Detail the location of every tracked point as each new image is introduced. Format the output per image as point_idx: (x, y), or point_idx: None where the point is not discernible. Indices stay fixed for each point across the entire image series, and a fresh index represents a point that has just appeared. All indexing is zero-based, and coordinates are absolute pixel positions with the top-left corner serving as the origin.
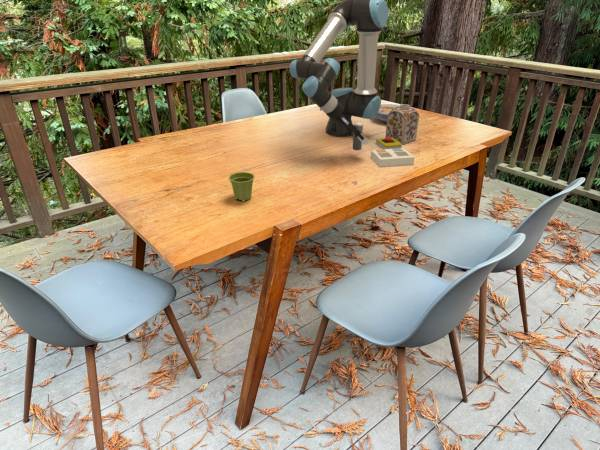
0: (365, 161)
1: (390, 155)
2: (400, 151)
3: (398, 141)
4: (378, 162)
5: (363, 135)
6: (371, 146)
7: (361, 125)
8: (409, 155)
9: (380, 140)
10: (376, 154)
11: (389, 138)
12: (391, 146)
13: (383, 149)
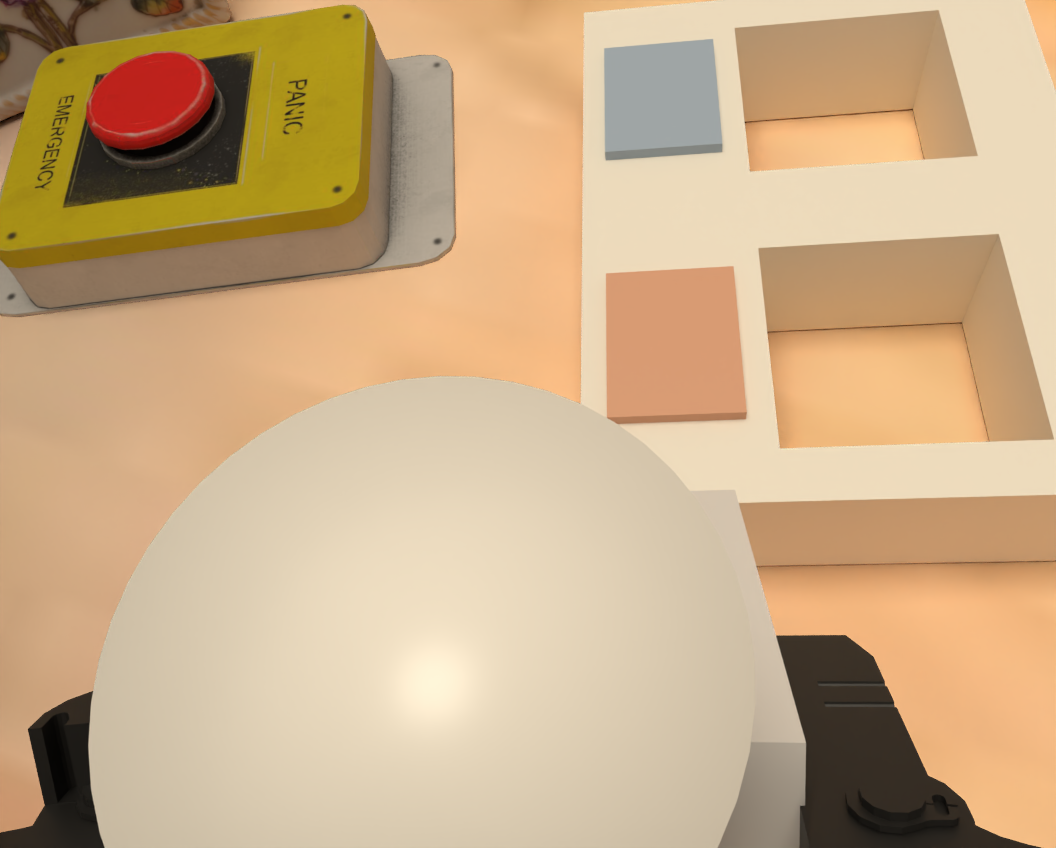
0: None
1: (863, 255)
2: (735, 79)
3: (151, 29)
4: (1042, 538)
5: (772, 635)
6: (109, 397)
7: (715, 580)
8: (923, 14)
9: (89, 214)
10: (856, 482)
11: (144, 80)
12: (369, 141)
13: (620, 286)
